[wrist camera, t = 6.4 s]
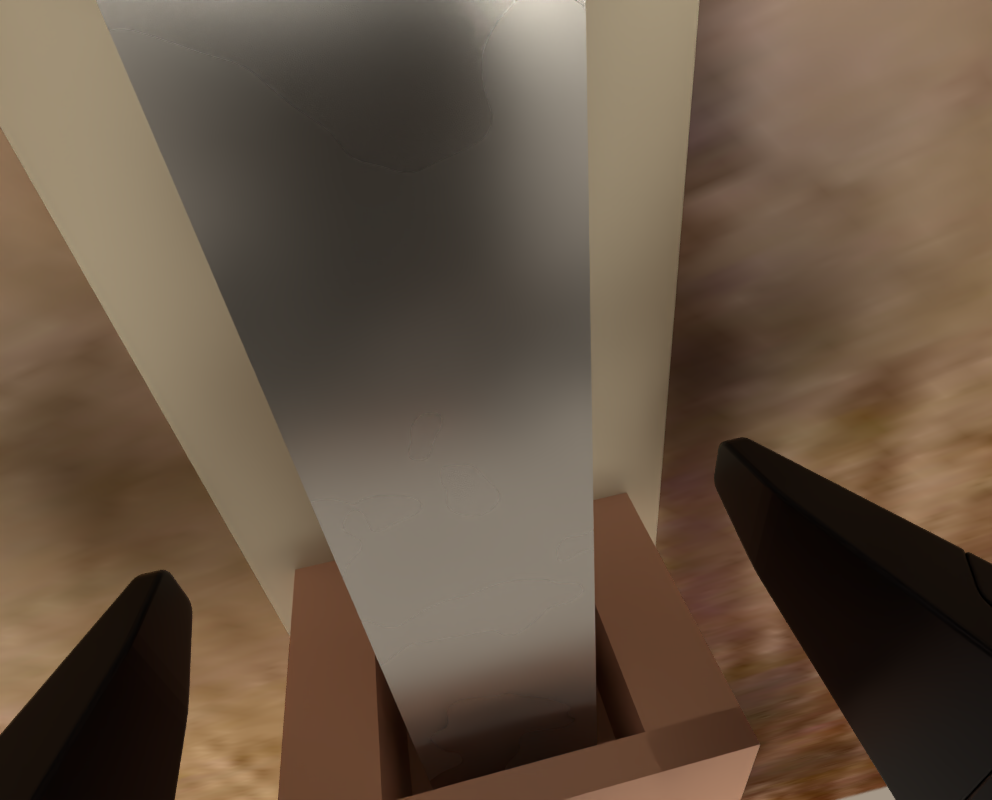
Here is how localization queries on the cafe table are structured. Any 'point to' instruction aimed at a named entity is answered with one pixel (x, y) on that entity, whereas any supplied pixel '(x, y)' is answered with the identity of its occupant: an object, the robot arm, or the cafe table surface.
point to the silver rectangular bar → (411, 323)
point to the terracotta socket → (550, 782)
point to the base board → (205, 317)
